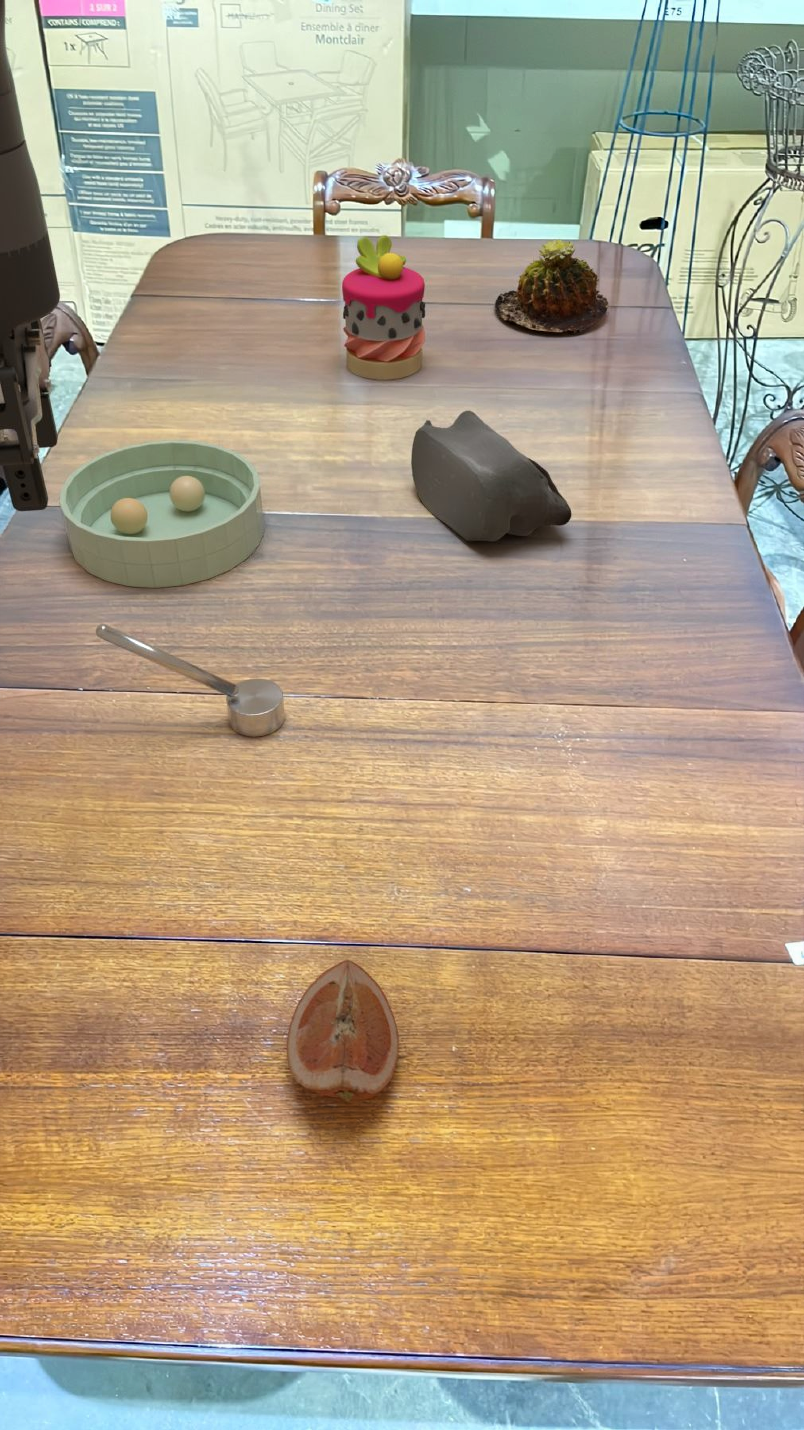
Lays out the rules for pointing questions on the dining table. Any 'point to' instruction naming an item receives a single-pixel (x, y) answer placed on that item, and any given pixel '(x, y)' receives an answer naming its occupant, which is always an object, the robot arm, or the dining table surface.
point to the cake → (383, 314)
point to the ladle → (216, 687)
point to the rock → (482, 482)
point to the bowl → (163, 514)
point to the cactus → (555, 293)
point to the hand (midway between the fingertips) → (37, 475)
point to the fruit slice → (343, 1035)
